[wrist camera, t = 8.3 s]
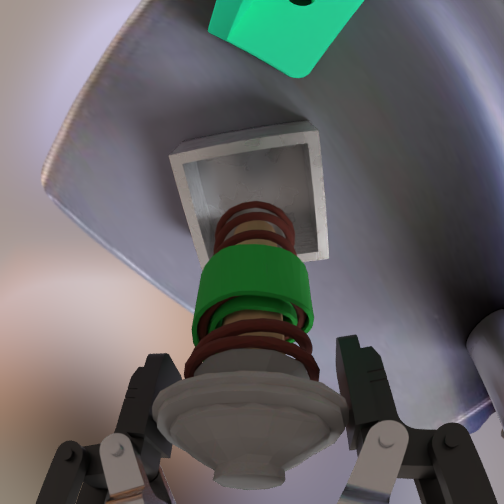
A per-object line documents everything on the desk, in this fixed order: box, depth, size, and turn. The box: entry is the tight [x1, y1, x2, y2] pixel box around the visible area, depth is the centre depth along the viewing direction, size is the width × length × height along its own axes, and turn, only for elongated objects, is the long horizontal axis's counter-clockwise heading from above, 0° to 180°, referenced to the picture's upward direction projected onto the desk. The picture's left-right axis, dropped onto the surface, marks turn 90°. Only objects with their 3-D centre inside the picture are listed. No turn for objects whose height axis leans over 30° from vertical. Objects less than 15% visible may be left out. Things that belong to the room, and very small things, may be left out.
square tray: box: [169, 120, 329, 271], centre depth 24 cm, size 10×10×4 cm
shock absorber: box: [152, 201, 349, 490], centre depth 14 cm, size 6×6×15 cm
